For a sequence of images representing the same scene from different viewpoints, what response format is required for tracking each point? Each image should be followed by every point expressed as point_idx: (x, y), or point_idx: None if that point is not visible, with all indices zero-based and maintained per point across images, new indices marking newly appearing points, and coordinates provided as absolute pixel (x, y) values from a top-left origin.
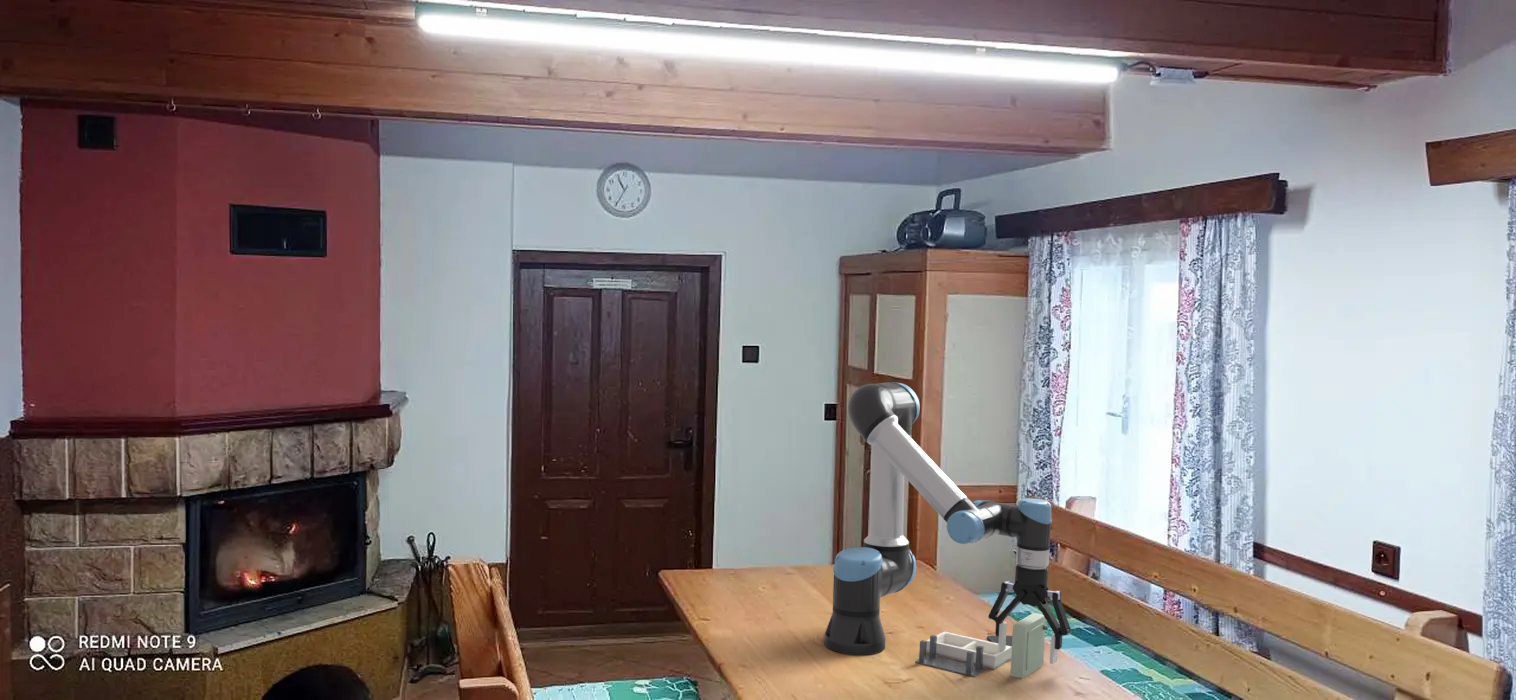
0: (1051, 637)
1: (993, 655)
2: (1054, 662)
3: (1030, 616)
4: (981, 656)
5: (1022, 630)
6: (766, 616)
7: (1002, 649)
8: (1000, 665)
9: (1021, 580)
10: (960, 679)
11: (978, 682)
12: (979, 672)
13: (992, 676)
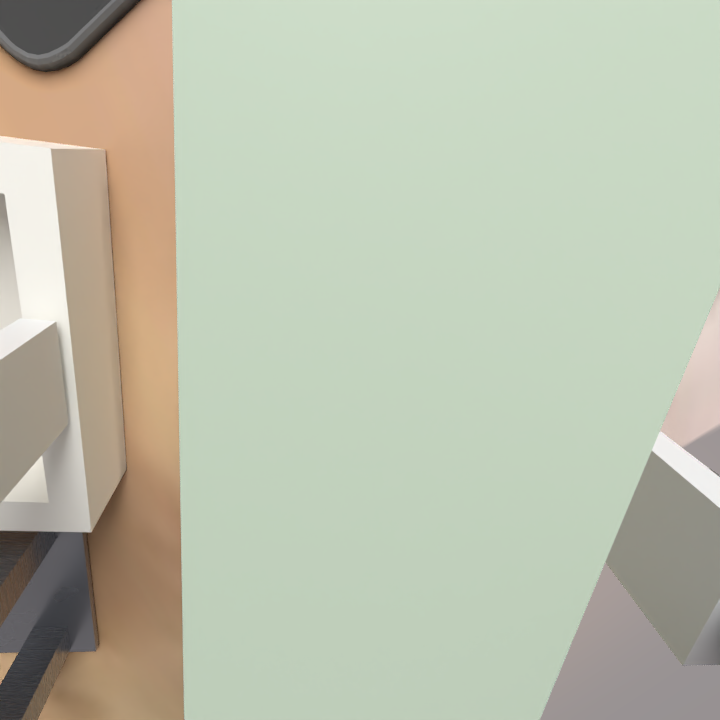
0: (668, 641)
1: (62, 517)
2: None
3: (275, 602)
4: (8, 601)
5: None
6: None
7: (58, 401)
8: (120, 381)
9: None
10: (62, 700)
11: (160, 683)
12: (89, 591)
13: (178, 579)
